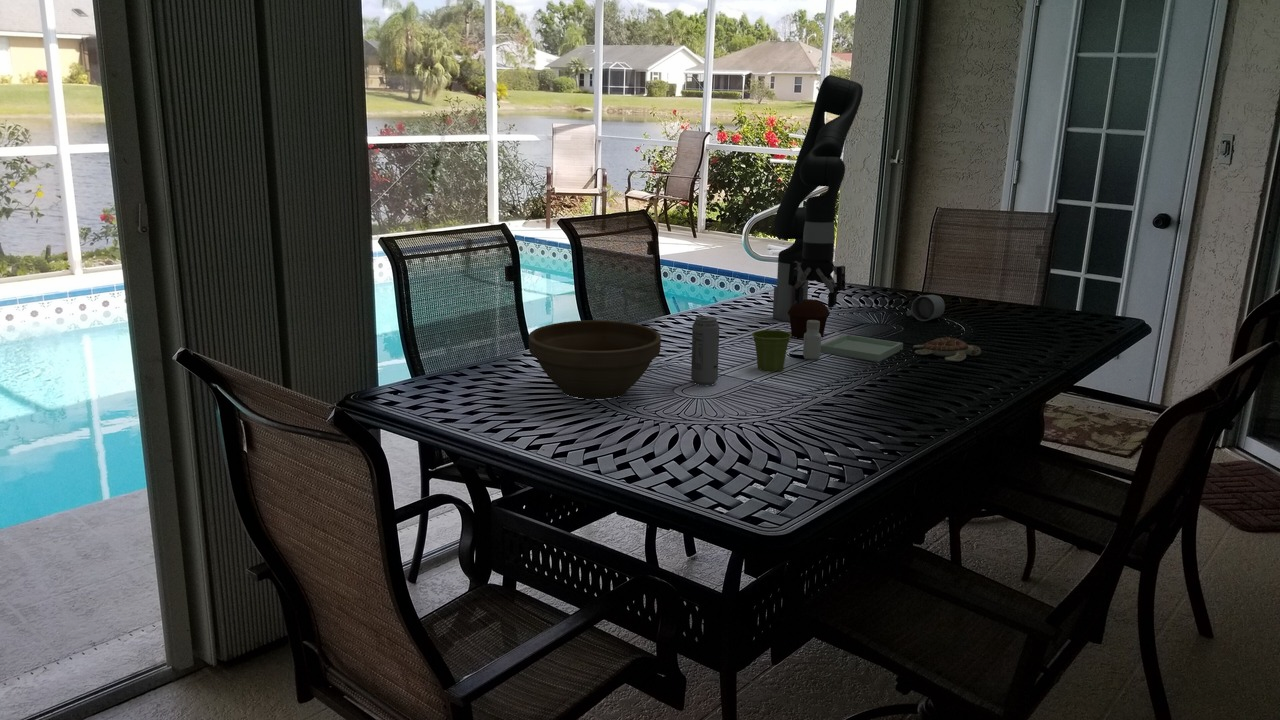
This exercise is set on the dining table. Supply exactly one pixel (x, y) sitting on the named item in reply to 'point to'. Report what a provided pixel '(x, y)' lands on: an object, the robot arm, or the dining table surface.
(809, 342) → the pepper shaker
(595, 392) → the flower pot
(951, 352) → the decorative turtle
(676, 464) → the dining table surface
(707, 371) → the energy drink can
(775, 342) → the plant pot
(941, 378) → the dining table surface
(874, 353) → the tray
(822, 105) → the robot arm
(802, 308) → the muffin
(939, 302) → the ceramic mug
